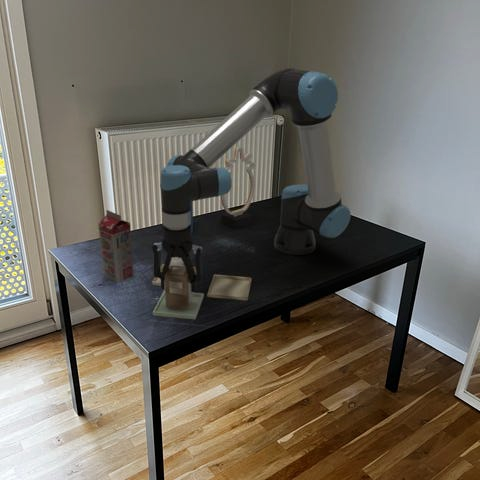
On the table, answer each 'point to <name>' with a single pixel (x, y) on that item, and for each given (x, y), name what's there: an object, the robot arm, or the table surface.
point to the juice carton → (116, 247)
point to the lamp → (239, 216)
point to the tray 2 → (179, 312)
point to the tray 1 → (158, 281)
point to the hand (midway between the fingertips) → (179, 299)
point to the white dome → (176, 261)
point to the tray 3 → (229, 287)
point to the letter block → (177, 287)
